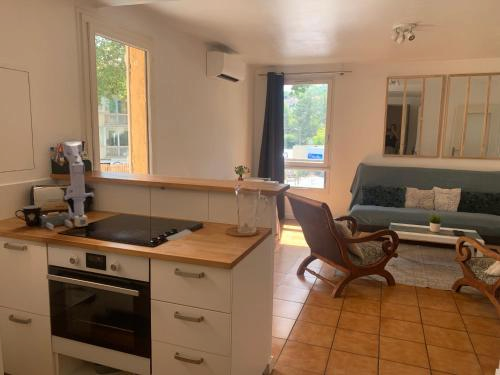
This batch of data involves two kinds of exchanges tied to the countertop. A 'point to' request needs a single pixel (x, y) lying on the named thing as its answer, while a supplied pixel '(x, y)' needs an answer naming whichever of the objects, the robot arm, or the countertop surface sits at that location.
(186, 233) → the kitchen knife
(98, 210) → the countertop surface
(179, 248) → the countertop surface
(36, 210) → the coffee mug
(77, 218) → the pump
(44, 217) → the block
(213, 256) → the countertop surface
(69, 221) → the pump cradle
